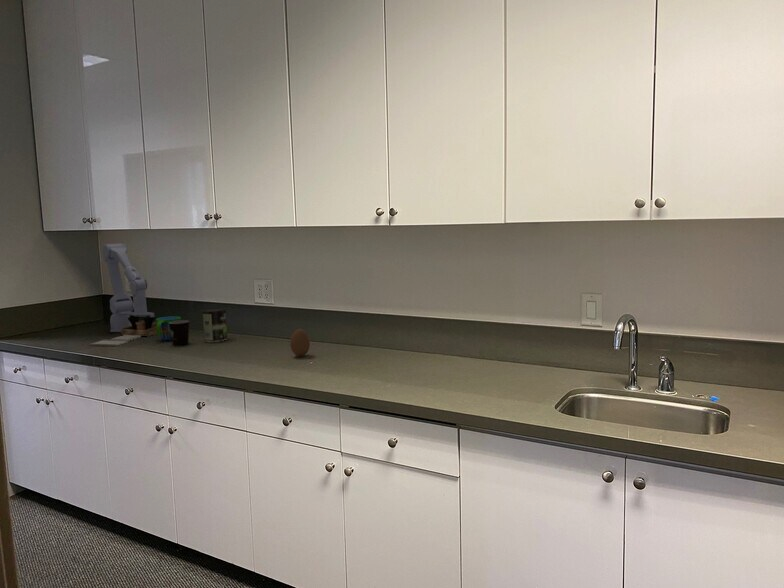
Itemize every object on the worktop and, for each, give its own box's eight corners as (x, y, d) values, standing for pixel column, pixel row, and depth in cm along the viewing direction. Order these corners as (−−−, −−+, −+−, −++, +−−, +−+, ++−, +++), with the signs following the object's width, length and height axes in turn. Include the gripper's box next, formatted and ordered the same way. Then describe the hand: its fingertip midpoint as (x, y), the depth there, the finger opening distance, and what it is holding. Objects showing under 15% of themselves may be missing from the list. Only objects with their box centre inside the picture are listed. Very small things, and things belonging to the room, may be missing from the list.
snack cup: (173, 335, 294) (171, 314, 293) (190, 336, 290) (189, 315, 288) (148, 342, 280) (146, 320, 278) (166, 343, 276) (164, 321, 274)
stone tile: (111, 340, 286) (111, 338, 286) (125, 336, 294) (125, 334, 294) (126, 341, 283) (126, 339, 283) (140, 337, 291) (140, 335, 291)
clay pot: (133, 335, 298) (132, 322, 297) (142, 332, 303) (141, 320, 303) (143, 335, 296) (142, 322, 296) (151, 333, 302) (150, 320, 301)
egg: (314, 354, 245) (312, 328, 243) (303, 359, 238) (301, 331, 236) (298, 353, 248) (296, 326, 247) (287, 357, 241) (285, 330, 240)
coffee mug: (170, 343, 276) (169, 321, 275) (190, 341, 279) (189, 319, 277) (169, 348, 265) (167, 325, 264) (190, 346, 268) (188, 324, 266)
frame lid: (88, 345, 276) (88, 343, 276) (102, 341, 285) (102, 339, 285) (115, 346, 272) (115, 344, 272) (128, 342, 281) (128, 340, 281)
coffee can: (230, 337, 285) (228, 307, 283) (223, 342, 275) (221, 311, 273) (208, 338, 285) (206, 308, 283) (201, 342, 275) (198, 311, 273)
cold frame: (121, 335, 297) (120, 325, 297) (137, 331, 308) (136, 321, 307) (147, 337, 292) (146, 326, 291) (163, 332, 302) (162, 322, 302)
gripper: (122, 304, 297) (124, 332, 298) (146, 305, 292) (148, 333, 294) (132, 302, 303) (135, 329, 305) (156, 303, 298) (158, 330, 300)
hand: (142, 331), depth 300 cm, fingers open, 7 cm apart
